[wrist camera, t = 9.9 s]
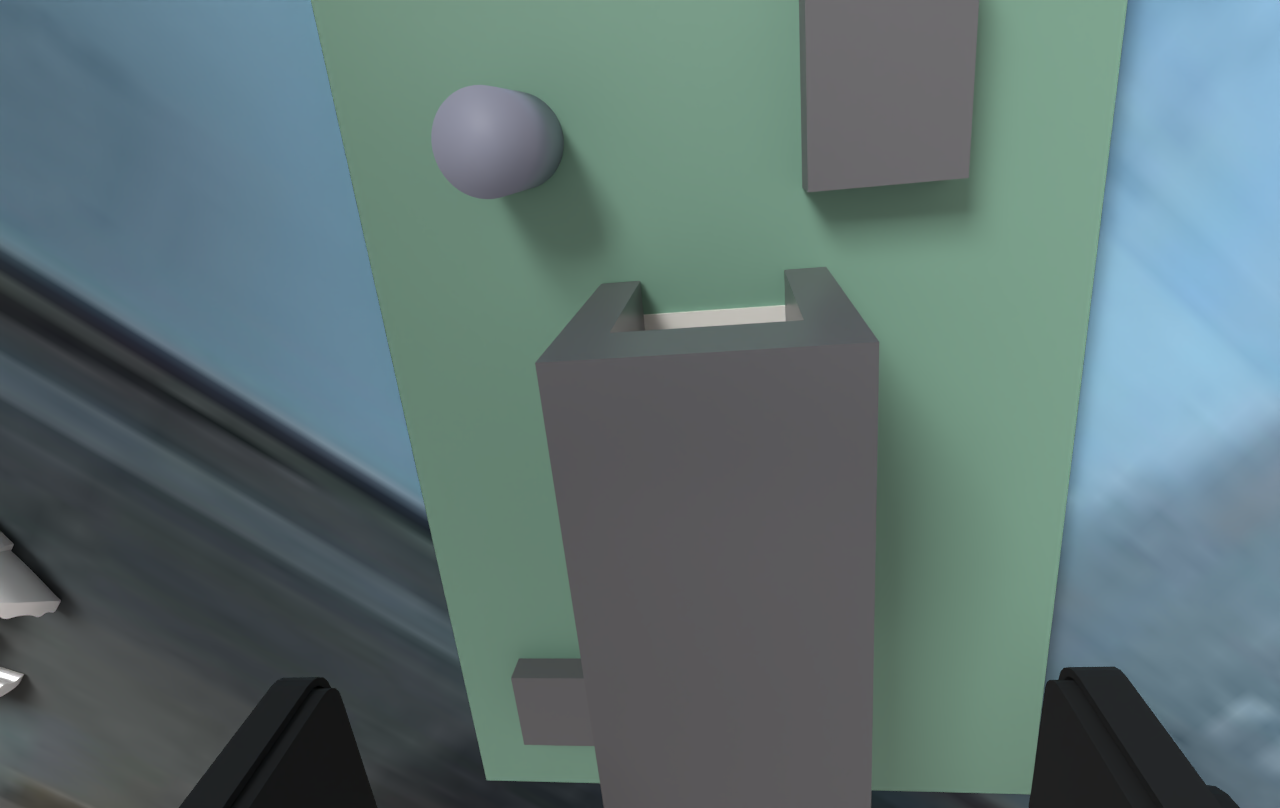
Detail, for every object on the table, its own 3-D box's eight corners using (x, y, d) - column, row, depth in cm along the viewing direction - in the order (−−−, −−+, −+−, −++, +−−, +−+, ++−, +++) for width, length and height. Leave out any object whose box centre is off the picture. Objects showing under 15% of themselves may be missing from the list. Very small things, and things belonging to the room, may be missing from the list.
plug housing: (600, 283, 16) (534, 362, 11) (825, 266, 16) (879, 342, 10) (643, 643, 20) (609, 843, 14) (829, 642, 19) (870, 853, 14)
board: (308, -116, 15) (197, -180, 12) (1130, -252, 13) (1259, -375, 10) (496, 754, 23) (460, 851, 20) (1017, 765, 21) (1067, 876, 18)
